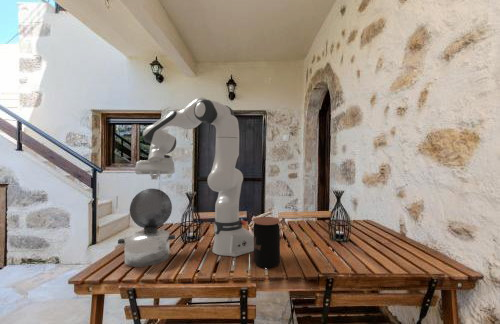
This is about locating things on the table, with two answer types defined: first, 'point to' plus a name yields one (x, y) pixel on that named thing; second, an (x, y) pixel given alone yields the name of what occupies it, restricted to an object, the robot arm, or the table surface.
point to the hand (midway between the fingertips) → (154, 178)
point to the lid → (150, 209)
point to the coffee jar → (266, 242)
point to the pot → (146, 247)
